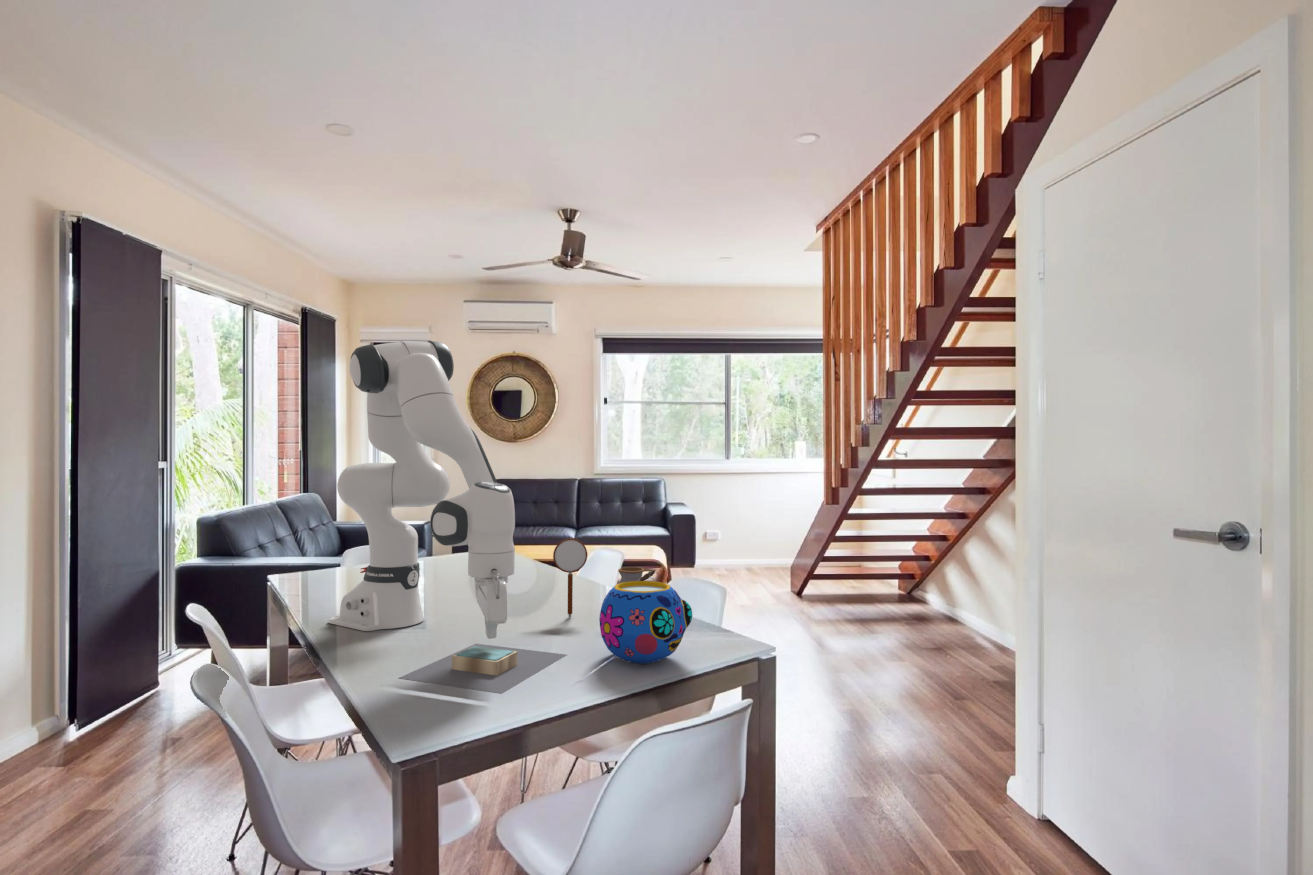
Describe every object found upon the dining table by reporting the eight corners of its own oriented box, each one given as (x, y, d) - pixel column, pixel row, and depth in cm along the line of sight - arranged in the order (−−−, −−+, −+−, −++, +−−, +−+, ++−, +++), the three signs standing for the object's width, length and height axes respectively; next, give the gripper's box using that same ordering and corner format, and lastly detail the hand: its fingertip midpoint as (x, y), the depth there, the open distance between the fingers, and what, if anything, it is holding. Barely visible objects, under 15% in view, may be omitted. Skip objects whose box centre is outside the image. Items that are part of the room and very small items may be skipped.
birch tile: (473, 658, 137) (451, 669, 131) (474, 645, 137) (452, 654, 131) (517, 664, 134) (497, 675, 127) (517, 650, 134) (497, 660, 127)
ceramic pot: (660, 680, 127) (660, 598, 127) (581, 665, 136) (581, 588, 136) (700, 655, 142) (701, 582, 142) (627, 643, 151) (628, 574, 151)
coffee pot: (602, 617, 174) (602, 558, 174) (644, 613, 178) (645, 555, 178) (630, 639, 154) (630, 572, 154) (677, 634, 158) (677, 569, 159)
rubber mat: (398, 681, 125) (398, 677, 125) (476, 646, 148) (476, 643, 148) (501, 696, 118) (501, 693, 118) (567, 657, 140) (567, 654, 140)
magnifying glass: (552, 619, 172) (553, 539, 172) (552, 617, 174) (553, 538, 174) (587, 617, 174) (587, 538, 174) (586, 615, 175) (587, 537, 176)
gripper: (515, 573, 126) (515, 649, 125) (501, 557, 145) (500, 622, 145) (480, 575, 123) (479, 652, 123) (470, 558, 143) (469, 625, 142)
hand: (490, 636), depth 134 cm, fingers closed
